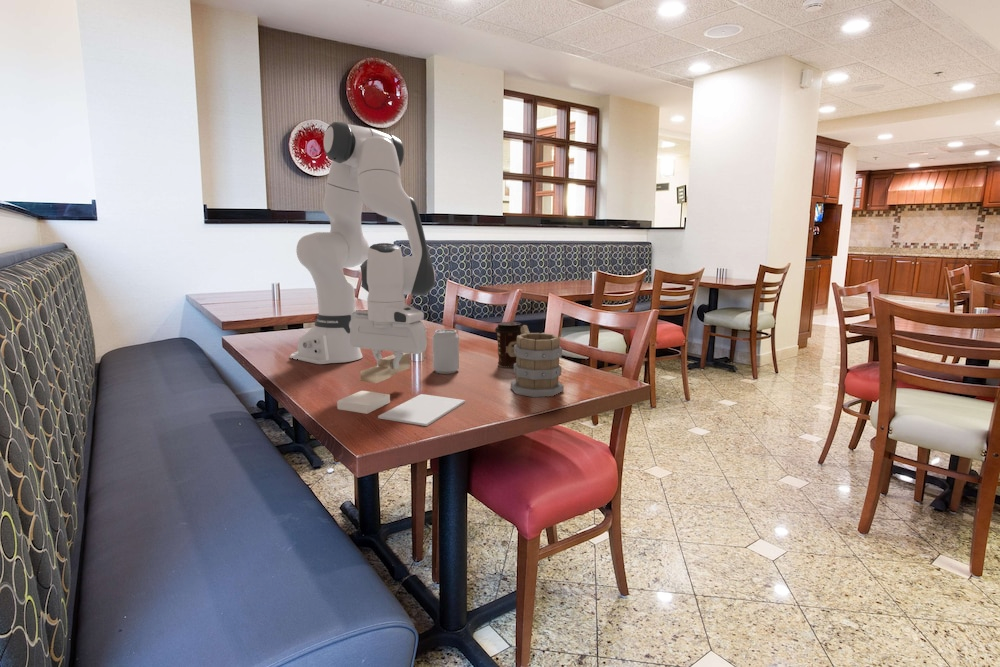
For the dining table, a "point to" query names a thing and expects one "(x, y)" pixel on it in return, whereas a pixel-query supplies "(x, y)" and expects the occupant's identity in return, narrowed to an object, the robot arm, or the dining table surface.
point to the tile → (363, 402)
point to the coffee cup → (507, 342)
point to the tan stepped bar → (384, 369)
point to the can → (445, 351)
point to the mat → (422, 409)
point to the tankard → (537, 364)
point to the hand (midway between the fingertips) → (388, 368)
